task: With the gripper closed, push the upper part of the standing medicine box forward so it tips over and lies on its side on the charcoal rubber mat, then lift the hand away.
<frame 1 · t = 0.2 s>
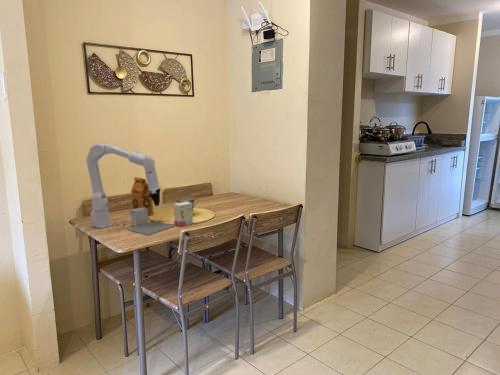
hand: (157, 204, 200), 11 cm above the table, tool pointing down, fingers open, 7 cm apart
coffee package: (143, 214, 222), on the table
ink box: (184, 225, 198), on the table
ceramic cup: (188, 215, 218), on the table
medicine box: (140, 225, 199), on the table
mat: (151, 228, 192), on the table
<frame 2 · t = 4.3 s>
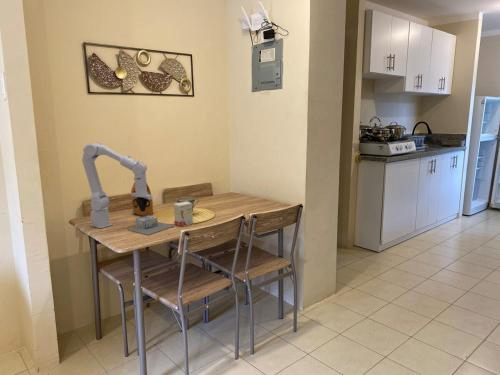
hand: (142, 211, 196), 8 cm above the table, tool pointing down, fingers closed
medicine box: (141, 220, 198), point 3 cm above the table, touching mat
everything else where it was.
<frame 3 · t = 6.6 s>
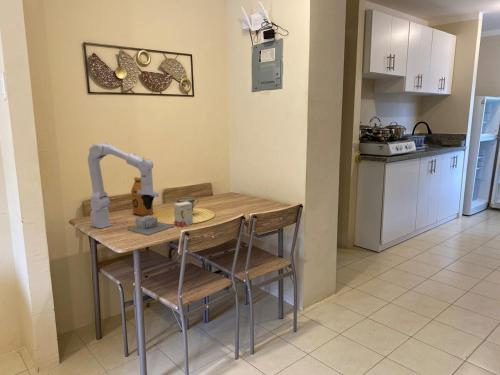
hand: (148, 209, 193), 10 cm above the table, tool pointing down, fingers closed
nothing on the table moved.
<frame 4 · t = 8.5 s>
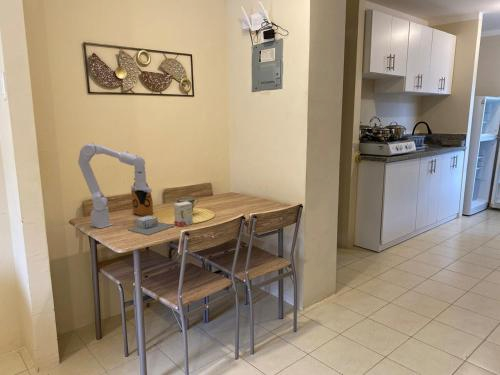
hand: (142, 204, 202), 10 cm above the table, tool pointing down, fingers closed
nothing on the table moved.
at the end: medicine box tilted 90°; medicine box inside the target area (5.4 cm from its centre), point 2.6 cm above the table; medicine box touching mat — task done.
